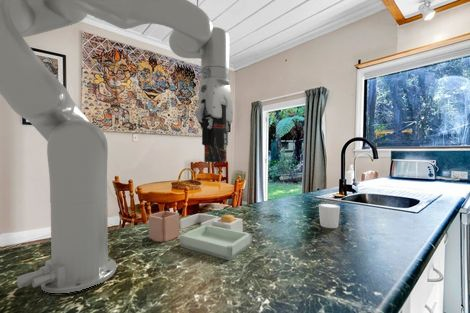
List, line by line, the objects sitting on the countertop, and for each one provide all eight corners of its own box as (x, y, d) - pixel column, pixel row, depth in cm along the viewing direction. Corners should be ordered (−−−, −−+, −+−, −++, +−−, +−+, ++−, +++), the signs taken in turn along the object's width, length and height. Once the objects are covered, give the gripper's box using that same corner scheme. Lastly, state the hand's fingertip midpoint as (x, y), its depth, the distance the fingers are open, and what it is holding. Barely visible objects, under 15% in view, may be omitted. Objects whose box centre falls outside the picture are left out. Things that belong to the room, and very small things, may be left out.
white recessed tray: (228, 239, 66) (228, 225, 66) (180, 228, 77) (179, 216, 77) (244, 230, 75) (244, 217, 75) (198, 221, 85) (198, 210, 85)
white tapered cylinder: (336, 222, 82) (336, 203, 82) (343, 229, 75) (343, 207, 75) (316, 222, 83) (316, 203, 83) (321, 228, 76) (321, 207, 76)
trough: (230, 260, 53) (229, 247, 53) (180, 246, 62) (180, 235, 62) (251, 244, 63) (251, 233, 63) (205, 234, 71) (205, 224, 71)
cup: (163, 243, 64) (162, 219, 64) (146, 238, 68) (146, 215, 67) (181, 235, 70) (181, 213, 70) (165, 231, 73) (165, 210, 73)
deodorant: (225, 162, 59) (225, 103, 59) (202, 162, 59) (202, 103, 59) (227, 161, 65) (227, 108, 65) (206, 161, 65) (206, 108, 65)
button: (229, 233, 70) (229, 218, 70) (218, 230, 72) (218, 216, 72) (236, 229, 73) (236, 215, 73) (225, 227, 75) (225, 214, 75)
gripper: (206, 64, 53) (206, 143, 53) (243, 84, 67) (243, 146, 67) (182, 71, 56) (182, 144, 57) (222, 88, 71) (222, 146, 71)
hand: (215, 144), depth 62 cm, fingers closed on deodorant, 5 cm apart
